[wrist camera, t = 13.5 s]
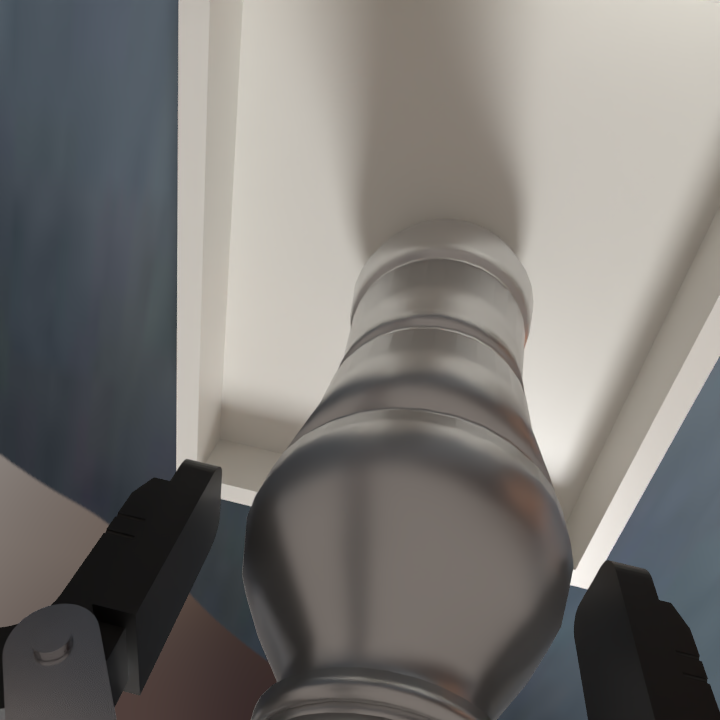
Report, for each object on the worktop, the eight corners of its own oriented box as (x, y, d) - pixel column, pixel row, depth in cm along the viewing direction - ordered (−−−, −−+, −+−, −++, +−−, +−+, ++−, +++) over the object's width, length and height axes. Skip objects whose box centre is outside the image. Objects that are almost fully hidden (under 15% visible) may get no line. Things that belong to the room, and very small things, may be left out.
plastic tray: (230, -122, 20) (179, -152, 16) (843, -10, 19) (926, -17, 15) (208, 437, 32) (176, 487, 29) (576, 526, 31) (589, 589, 28)
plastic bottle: (543, 331, 25) (686, 1025, 8) (390, 365, 27) (236, 973, 10) (507, 181, 22) (605, 740, 5) (340, 232, 24) (9, 750, 7)
